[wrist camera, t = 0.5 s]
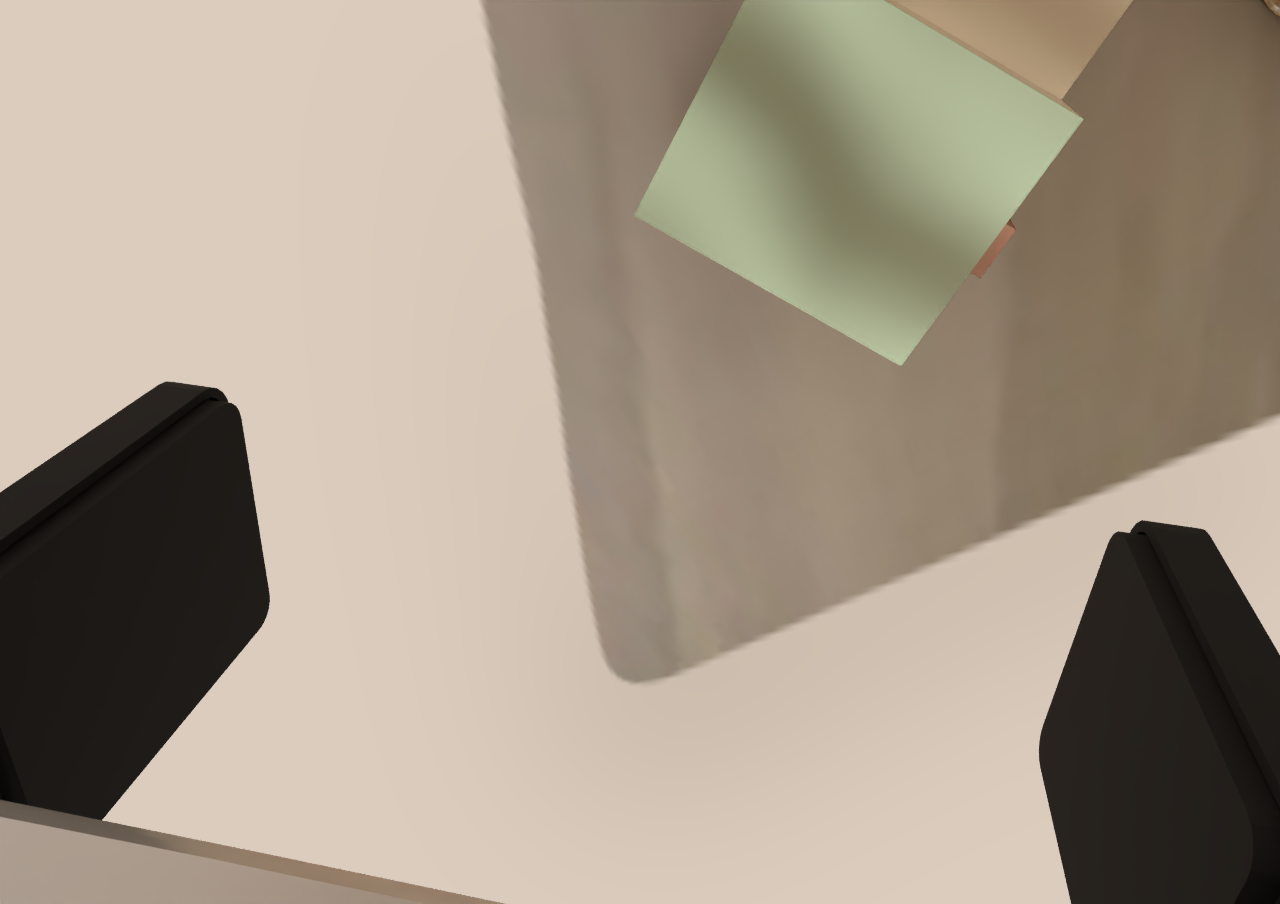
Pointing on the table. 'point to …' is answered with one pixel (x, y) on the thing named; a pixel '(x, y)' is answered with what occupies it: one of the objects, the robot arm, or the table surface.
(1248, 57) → the table surface
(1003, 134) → the step stand
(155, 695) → the robot arm
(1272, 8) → the spice jar
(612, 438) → the table surface
